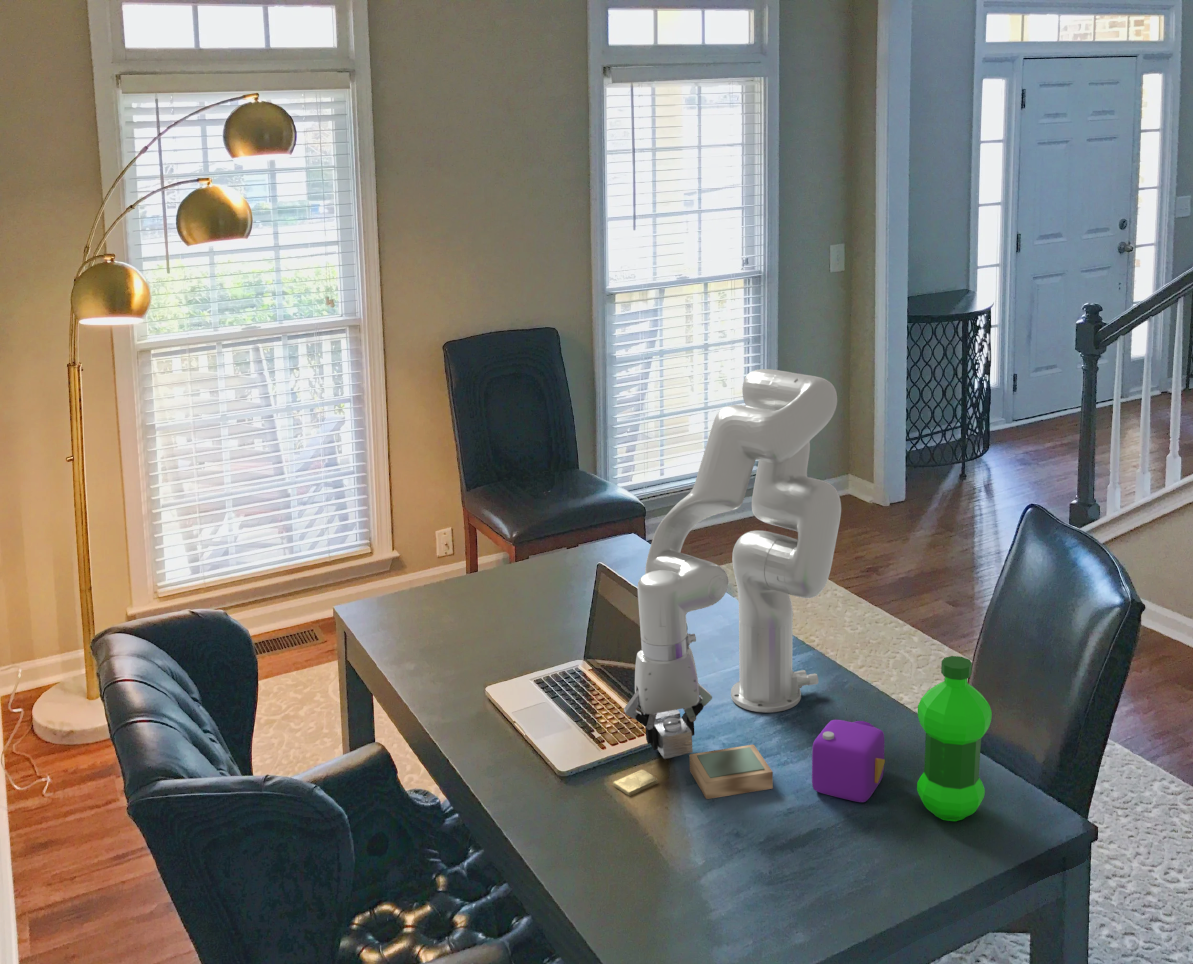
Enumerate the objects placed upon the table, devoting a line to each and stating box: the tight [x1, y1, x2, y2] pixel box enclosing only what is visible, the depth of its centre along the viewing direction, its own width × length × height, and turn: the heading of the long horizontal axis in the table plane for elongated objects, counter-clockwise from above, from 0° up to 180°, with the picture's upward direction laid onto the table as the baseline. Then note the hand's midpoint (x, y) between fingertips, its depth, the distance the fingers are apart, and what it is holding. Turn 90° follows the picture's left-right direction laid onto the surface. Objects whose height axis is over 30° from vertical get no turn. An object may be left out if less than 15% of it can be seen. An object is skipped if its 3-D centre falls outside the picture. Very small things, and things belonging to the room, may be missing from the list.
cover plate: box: [612, 768, 659, 797], centre depth 205 cm, size 6×4×1 cm, turn 126°
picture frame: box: [688, 744, 774, 800], centre depth 205 cm, size 11×9×3 cm
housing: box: [654, 709, 694, 760], centre depth 212 cm, size 7×5×5 cm
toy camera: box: [811, 719, 886, 803], centre depth 202 cm, size 11×14×10 cm
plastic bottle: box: [916, 655, 993, 822], centre depth 190 cm, size 10×10×25 cm
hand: (670, 741), depth 213 cm, fingers closed on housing, 5 cm apart
